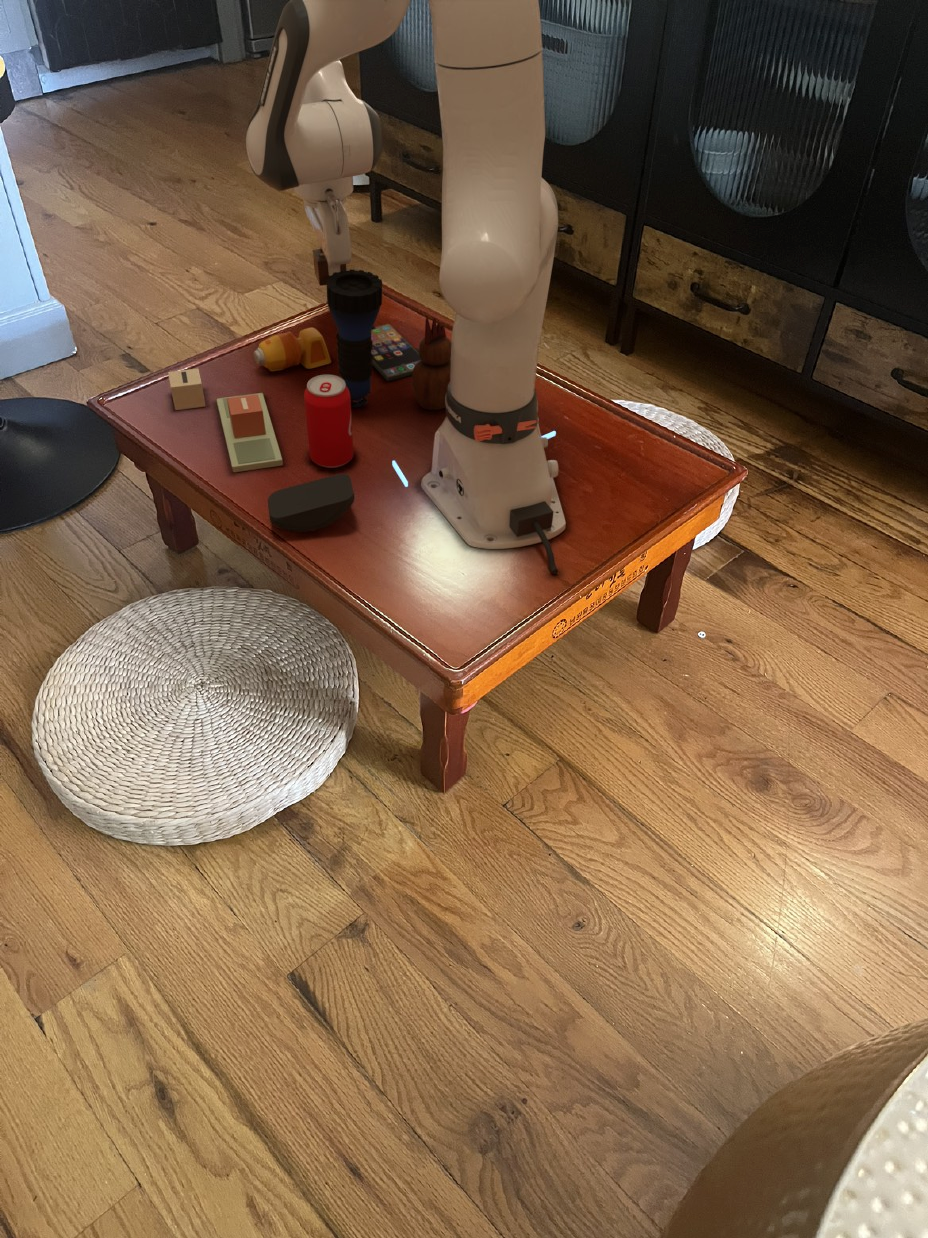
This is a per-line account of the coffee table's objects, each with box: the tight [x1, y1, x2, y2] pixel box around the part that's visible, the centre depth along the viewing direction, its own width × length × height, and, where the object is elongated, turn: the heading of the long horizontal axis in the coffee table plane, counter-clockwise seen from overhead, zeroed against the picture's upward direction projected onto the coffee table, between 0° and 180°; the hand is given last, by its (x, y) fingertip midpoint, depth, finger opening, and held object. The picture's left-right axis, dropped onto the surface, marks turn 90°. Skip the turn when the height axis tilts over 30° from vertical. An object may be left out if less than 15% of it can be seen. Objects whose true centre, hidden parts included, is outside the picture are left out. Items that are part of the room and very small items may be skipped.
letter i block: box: [167, 368, 206, 411], centre depth 141 cm, size 4×4×4 cm
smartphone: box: [371, 323, 421, 382], centre depth 154 cm, size 8×15×1 cm, turn 31°
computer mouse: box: [267, 473, 355, 533], centre depth 122 cm, size 6×11×4 cm, turn 102°
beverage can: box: [303, 374, 355, 469], centre depth 130 cm, size 6×6×12 cm
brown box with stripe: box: [312, 248, 348, 287], centre depth 149 cm, size 4×4×4 cm
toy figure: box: [253, 327, 332, 372], centre depth 149 cm, size 5×6×12 cm
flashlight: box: [326, 269, 383, 408], centre depth 136 cm, size 8×8×20 cm
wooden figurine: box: [411, 317, 452, 411], centre depth 139 cm, size 7×6×15 cm
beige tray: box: [216, 392, 284, 473], centre depth 135 cm, size 18×7×5 cm, turn 17°
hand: (330, 268), depth 149 cm, fingers closed on brown box with stripe, 4 cm apart
